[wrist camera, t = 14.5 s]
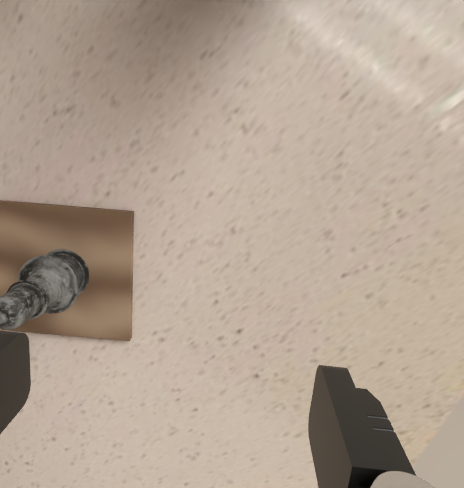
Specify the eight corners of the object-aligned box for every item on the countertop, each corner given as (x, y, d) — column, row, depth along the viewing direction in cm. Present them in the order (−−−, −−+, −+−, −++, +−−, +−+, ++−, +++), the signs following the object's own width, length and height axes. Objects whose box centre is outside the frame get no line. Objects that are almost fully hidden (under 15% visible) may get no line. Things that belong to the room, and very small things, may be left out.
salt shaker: (99, 293, 43) (43, 350, 31) (47, 305, 43) (-27, 364, 32) (81, 240, 42) (16, 278, 30) (28, 253, 42) (-57, 295, 31)
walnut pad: (-3, 200, 42) (-7, 201, 41) (133, 211, 41) (131, 212, 41) (5, 326, 45) (1, 329, 44) (131, 337, 45) (129, 340, 44)
